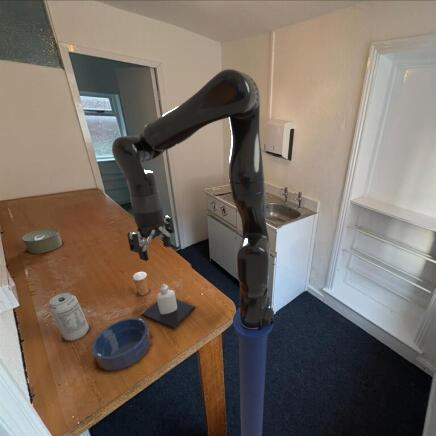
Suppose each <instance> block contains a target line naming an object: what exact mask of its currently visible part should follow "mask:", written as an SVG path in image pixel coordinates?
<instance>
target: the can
mask: <svg viewBox="0 0 436 436" xmlns="http://www.w3.org/2000/svg"><path fill="white" fill-rule="evenodd" d="M21 240H22V242H23V243H24V245H25V247H26V248H27V251H28V253H31V254H43V253H48V252H51V251H52V252H53V251H54V250H57V249H58V248H60V247H62V245H63V241H62V239H61V236H60V233H59V230H58V229H57V228H43V229H36V230H34V231H31V232H28V233H26V234H24V235H23V236H22V238H21Z"/></svg>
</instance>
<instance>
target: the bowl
mask: <svg viewBox="0 0 436 436" xmlns="http://www.w3.org/2000/svg"><path fill="white" fill-rule="evenodd" d="M150 345H151V335H150V330H149V326H148V324H147V323H146V321H145V320H143V319H141V318H137V317H135V318H134V317H129V318H125V319H121V320H118V321H116V322H114V323H112V324H110V325H108V326H106V328H104V329H103V330H102V331H101V332H99V334H98V335H97V336H96V338H95V339H94V341H93V344H92V347H91V351H92V353H93V356H94V357H95V360H96V362H97V364H98V367H99V368H101V369H103V370H105V371H118V370H121V369H124V368H128V367H129V366H131V365H132V364H134V363H135V362H137V361H138V360H140V359H141V358H142V357H143V356H144V355H145V354H146V352H147V351H148V349H149V347H150Z"/></svg>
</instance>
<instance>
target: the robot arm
mask: <svg viewBox="0 0 436 436" xmlns="http://www.w3.org/2000/svg"><path fill="white" fill-rule="evenodd" d="M260 111H261V94H260V90H259V87H258V85H257V83H256V81H255V80H254V78H253V77H252V76H250V75H249V74H247V73H245V72H242V71H240V70H237V69H235V68H225V69H223V70H220V71H219V72H218V73H216V74H215V75H214V76H213V77H211V78H210V80H209V81H207V82H206V83H205V84H204V85H203V86H202V87H201V88H200V89H199V90H198V91H197V92H196V93H194V94H193V95H192V96H190V97H188V98H187V100H185V101H184V102H183V103H181V104H179V105H178V106H176V107H175V108H173V109H172V110H170V111H168V112H166V113H165V114H163V115H160V116H159V117H158V118H155V119H154V120H152V121H151V122H149V123H147V124H146V125H145V126H144V127H143V130H142V132H140V133H137V134H132V135H124V136H118V137H116V138H115V139H114V140H113V142H112V144H111V153H112V156H113V159H114V161H115V162H116V165H117V166H118V168H119V169H120V171H121V174H122V175H123V177H124V178H125V180H126V183H127V187H128V192H129V197H130V198H129V199H130V205H131V209H132V214H133V218H134V223H135V224H136V227H137V230H136V231H133V232H131V231H129V232H127V240H128V247H129V250H130V252H134V253H137V254H138V257H139V259H140V260H142V261H144V262H147V261H149V260H150V259H149V254H148V250H147V248H148V245H150V244H151V242H152V240H154V239H155V238H156V237H159V236H162V238H161V239H162V244H163V247H165V248H170V247H171V243H172V242H171V235H172V234H174V233H175V227H174V223H173V219H172V217H171V216H168V215H164V209H163V204H162V203H163V202H162V198H161V195H160V191H159V187H158V181H157V175H156V174H155V173H154V172H153V171H151V170H145V168H144V166H143V163H146V162H149V161H152V160H154V159H157V158H158V157H159V156H161V155H162V154H163V153H164V152H166V151H168V150H170V149H172V148H174V147H176V146H178V145H180V144H181V143H183V142H185V141H187V140H189V139H190V138H191V137H192V136H193V135H195V133H197V132H198V131H200V130H201V129H203V128H204V127H206V126H208V125H210V124H212V123H216V122H219V121H222V120H225V119H229V124H230V130H231V146H230V147H231V148H230V155H229V164H228V180H229V181H228V182H229V186H230V187H229V188H230V193H231V198H232V201H233V204H234V206H235V208H236V211H237V212H238V215H239V217H240V220H241V229H242V230H241V231H242V239H241V243H240V245H239V248H238V251H237V255H236V268H237V270H236V271H237V277H238V281H239V308H240V323H241V325H242V326H243V327H244V328H245V329H248V330H257V329H259V330H262V328H263V326H264V325H265V324H266V325H268V326H269V325H270V324H273V325H274V324H275V322H276V321H275V317H274V316H275V311H274V310H272V309H270V297H269V295H268V294H269V276H270V275H269V267H270V266H269V264H270V255H271V241H270V236H269V235H270V234H269V231H268V226H267V220H266V211H267V210H266V209H267V204H266V203H267V199H266V179H265V170H264V162H263V161H264V160H263V153H262V144H261V135H260V124H261V123H260V119H261V118H260V116H261V115H260V113H261V112H260ZM144 239H146V240H144ZM273 317H274V319H273ZM271 320H272V321H271Z"/></svg>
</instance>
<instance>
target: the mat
mask: <svg viewBox="0 0 436 436" xmlns="http://www.w3.org/2000/svg"><path fill="white" fill-rule="evenodd" d="M176 303H177V310H175V311H173V312H171V313H168V314H160V311H159V307H158V302H157V301H156V302H155V303H153V304H152V305H151V306H150V307H148V308H147V309H146V310H145V311H144V312H142V317H145V318H147V319H149V320H151V321H154V322H156V323H159V324H162V325H164V326H166V327H168V328H171V329H173V330H175V329H176V328H177V327H178V326H179V325H180V324H181V323H182V322H183V321H184V320H185V319H186V317H188V315H189V314H190V313H192V312H193V310H194V309H196V308H195V306H194V305H192V304H189V303H187V302H184V301H182V300H179V299H176Z"/></svg>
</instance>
